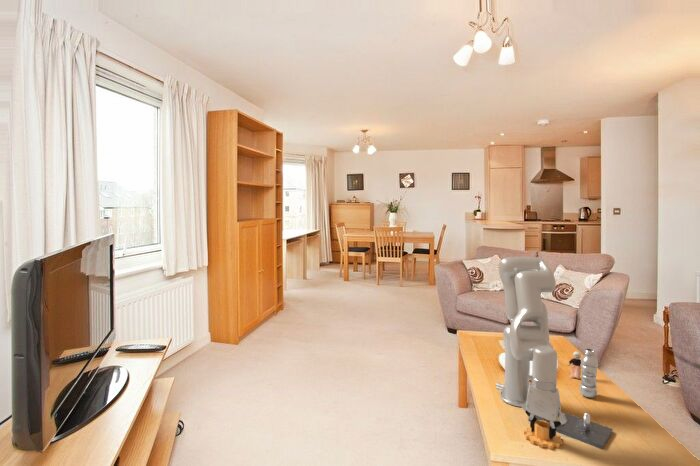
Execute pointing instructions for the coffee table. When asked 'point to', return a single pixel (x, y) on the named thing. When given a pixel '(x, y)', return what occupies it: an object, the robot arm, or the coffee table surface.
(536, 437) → the planet gear
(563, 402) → the coffee table surface
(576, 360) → the grandmother figurine
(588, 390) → the plastic bottle
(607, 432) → the carrier plate
